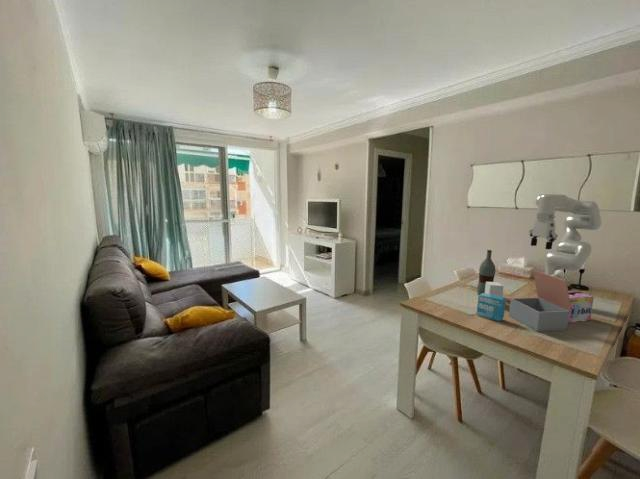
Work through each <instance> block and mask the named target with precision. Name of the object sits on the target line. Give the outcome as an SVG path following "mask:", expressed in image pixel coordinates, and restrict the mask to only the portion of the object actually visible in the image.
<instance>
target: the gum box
mask: <svg viewBox="0 0 640 479" xmlns="http://www.w3.org/2000/svg"><path fill="white" fill-rule="evenodd" d="M568 293H569V299H570V306H571V311H570V312H569V318H568V322H570V323H578V322H577V321H582V322H589V321H588V320H590V321H591V317H592V311H593V303H594V298H595V297H594V296H593V295H591V296H590V295H588V294H584V293H583V292H582V291H570V292H569V291H568ZM549 303H550V302H549ZM556 306H557V305H556ZM565 310H566V309H565Z"/></svg>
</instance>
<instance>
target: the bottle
mask: <svg viewBox="0 0 640 479" xmlns="http://www.w3.org/2000/svg"><path fill="white" fill-rule="evenodd" d="M478 268H479V270H478V274H479V276H478V283H477V285H476V286H477V287H476V292H477V295H478V296H479V295H481V294H482V293H485V285H486V282H494V281H495V276H496V265H495V263H494V262H493V260H492V250H491V249H487V252H486V258H485V259H484V260H483V261H482V262H481V263H480V265H479V267H478Z"/></svg>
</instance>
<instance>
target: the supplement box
mask: <svg viewBox="0 0 640 479" xmlns="http://www.w3.org/2000/svg"><path fill="white" fill-rule="evenodd" d="M485 294H489V295H494V296H498V297H503V294H504V285H502V284H501V283H500V282H498V281H496V282H495V281H493V282H486V285H485Z"/></svg>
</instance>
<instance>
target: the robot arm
mask: <svg viewBox="0 0 640 479" xmlns="http://www.w3.org/2000/svg"><path fill="white" fill-rule="evenodd" d="M535 204H536V206H537V213H536V219H535V220H534V223H533V228H532V229H530V230H528V232H529V236H530V240H531V241H530V246H531V247H534V246H535V247H536V246H537V244H538V238H544V239H545V240H546V242H545V243H546V244H545V250H552V251H549V252H547V253H546V254H545V256H544V261H545V262H544V263H545V264H544V265H545V268H544V270H545V271H544V273H545V274H548V275H553V274H554V273H555V271H556V270H562V271H564V270H568V271H572V272H577V271H580V270H581V269H582V268H583V267H584V265H585V264H586V262H587V260H588V259H589V257H590V255H591V253H592V245H591V243H589V242H586V241H582V234H580V232H579V231H578V230H589V231H596V230H598V229H600V228H601V224H602V217H601V213H600V208H599V205H598V204H597V202H596V201H594V200H577V199H574V198H572V197H568V196H567V195H565V194H558V193H555V194H554V193H543V194H539V195H538V196H537V197H536V199H535ZM556 211H557V212H562V213H566V214H568V215H567V216H566V217H565V218H564V220H563V231H564V233H563V236H562V237H561V238H560V240H559V241H558V243H557V245H556V246H555V251H553V249H552V247H553V243H554V242H555V241H556V240H557V238H558V236H559V235H558V234H557V232H556V221H555V220H554V219H555V218H556V216H555V214H556V213H555V212H556ZM577 229H578V230H577ZM557 278H558V277H557ZM565 278H566V274H565V275H564V277H562V278H560V279H564V280H566V279H565ZM542 300H543V299H542Z"/></svg>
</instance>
